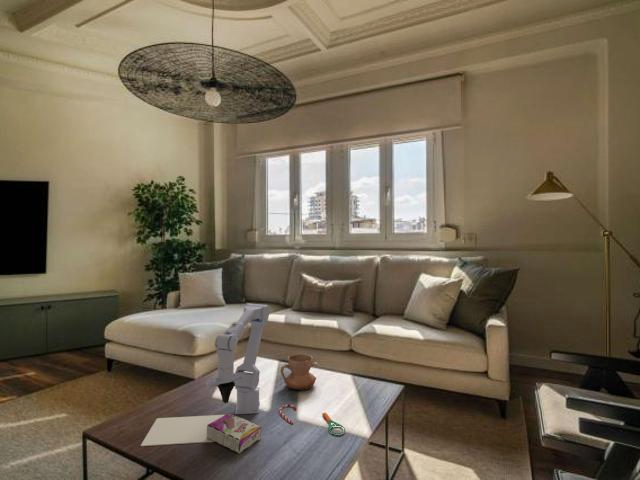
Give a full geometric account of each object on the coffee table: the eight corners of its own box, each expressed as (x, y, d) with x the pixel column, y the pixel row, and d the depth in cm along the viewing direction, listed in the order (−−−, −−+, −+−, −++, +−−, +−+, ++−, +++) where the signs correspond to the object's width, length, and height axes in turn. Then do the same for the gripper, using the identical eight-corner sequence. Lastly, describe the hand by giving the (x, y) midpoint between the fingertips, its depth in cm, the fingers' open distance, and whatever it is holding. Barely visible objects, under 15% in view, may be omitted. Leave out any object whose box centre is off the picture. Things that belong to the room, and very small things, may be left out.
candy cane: (283, 423, 137) (276, 405, 151) (283, 426, 137) (276, 408, 151) (303, 420, 139) (294, 403, 154) (303, 424, 139) (294, 406, 154)
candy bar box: (229, 411, 137) (262, 425, 128) (228, 424, 137) (261, 439, 128) (206, 424, 127) (240, 440, 118) (205, 438, 127) (239, 454, 119)
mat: (224, 415, 144) (224, 414, 144) (218, 441, 126) (218, 440, 126) (157, 419, 140) (157, 418, 140) (140, 446, 122) (140, 445, 122)
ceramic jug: (315, 379, 180) (315, 351, 180) (319, 392, 166) (319, 361, 166) (280, 381, 178) (280, 353, 178) (280, 394, 164) (280, 363, 163)
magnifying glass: (347, 435, 132) (348, 430, 132) (333, 438, 130) (333, 433, 130) (330, 415, 146) (331, 411, 146) (317, 418, 144) (317, 413, 144)
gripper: (237, 358, 141) (237, 392, 142) (202, 367, 131) (202, 403, 132) (246, 363, 136) (246, 398, 136) (211, 373, 126) (210, 411, 127)
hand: (225, 401), depth 134 cm, fingers closed
